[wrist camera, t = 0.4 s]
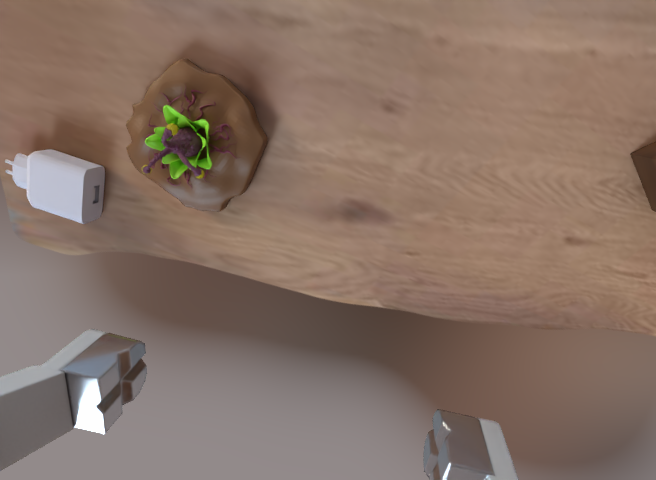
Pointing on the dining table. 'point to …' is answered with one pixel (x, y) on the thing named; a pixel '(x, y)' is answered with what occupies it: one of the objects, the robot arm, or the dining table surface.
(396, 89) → the dining table surface
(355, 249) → the dining table surface
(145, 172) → the plant
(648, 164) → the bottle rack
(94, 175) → the charger
